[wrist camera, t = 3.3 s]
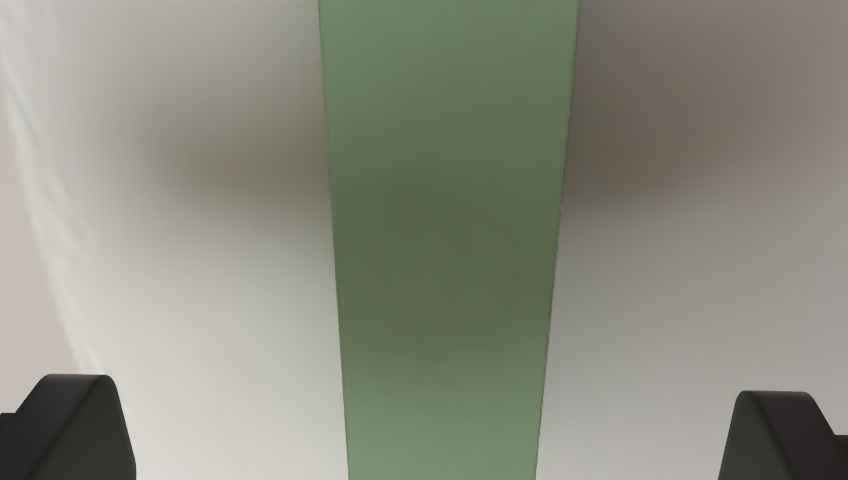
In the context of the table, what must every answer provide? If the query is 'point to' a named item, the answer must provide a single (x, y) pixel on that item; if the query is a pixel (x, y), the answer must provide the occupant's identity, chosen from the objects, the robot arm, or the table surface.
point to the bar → (445, 226)
